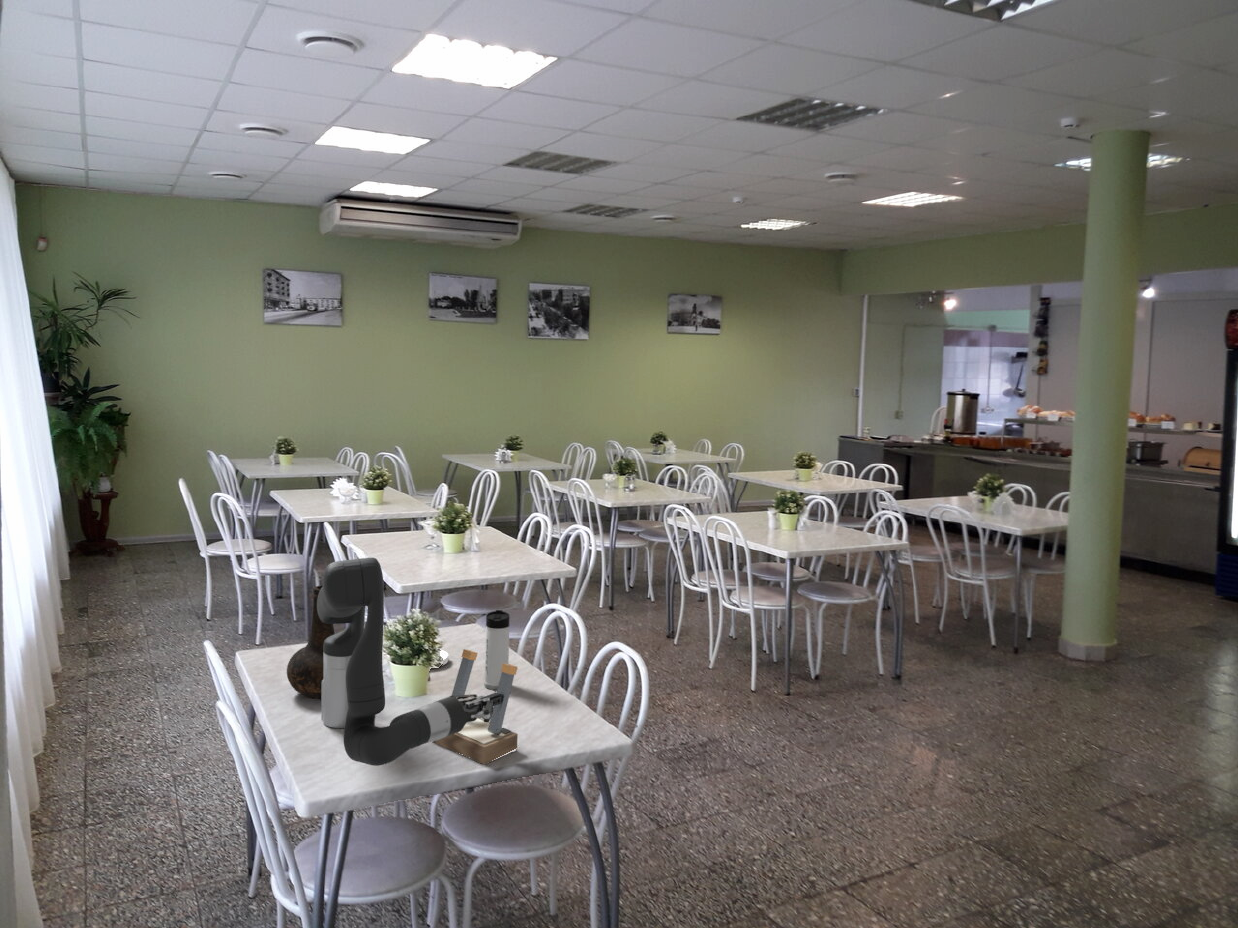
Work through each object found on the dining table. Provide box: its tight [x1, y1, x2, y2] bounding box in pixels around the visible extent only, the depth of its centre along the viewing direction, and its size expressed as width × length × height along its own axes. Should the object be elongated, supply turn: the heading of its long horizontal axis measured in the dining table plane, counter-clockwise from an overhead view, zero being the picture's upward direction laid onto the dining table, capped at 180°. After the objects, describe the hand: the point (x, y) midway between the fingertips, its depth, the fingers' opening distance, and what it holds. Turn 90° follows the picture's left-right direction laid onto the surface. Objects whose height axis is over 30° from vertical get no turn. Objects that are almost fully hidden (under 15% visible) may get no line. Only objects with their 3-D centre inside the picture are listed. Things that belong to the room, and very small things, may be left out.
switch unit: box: [432, 718, 519, 765], centre depth 207 cm, size 19×10×5 cm, turn 51°
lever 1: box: [451, 649, 478, 696], centre depth 212 cm, size 3×2×15 cm
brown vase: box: [286, 584, 336, 700], centre depth 234 cm, size 18×18×28 cm
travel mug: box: [483, 609, 510, 691], centre depth 244 cm, size 6×7×20 cm
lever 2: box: [488, 663, 518, 735], centre depth 203 cm, size 3×2×15 cm
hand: (499, 697), depth 203 cm, fingers closed
